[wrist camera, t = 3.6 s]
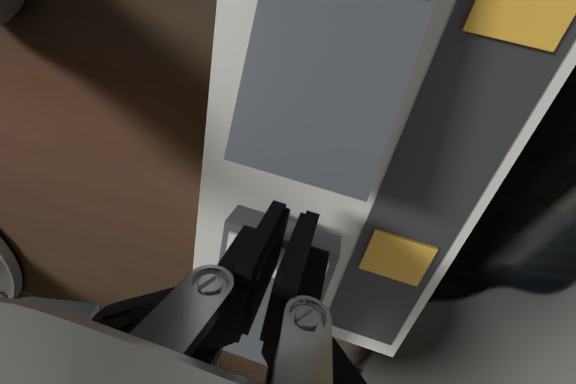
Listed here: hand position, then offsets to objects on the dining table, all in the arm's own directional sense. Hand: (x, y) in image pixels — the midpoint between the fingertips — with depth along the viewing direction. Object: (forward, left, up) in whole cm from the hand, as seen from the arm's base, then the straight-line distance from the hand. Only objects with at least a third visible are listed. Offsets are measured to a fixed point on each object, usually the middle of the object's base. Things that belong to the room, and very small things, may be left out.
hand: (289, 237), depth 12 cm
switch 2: (+7, 0, -1) cm, 7 cm away
